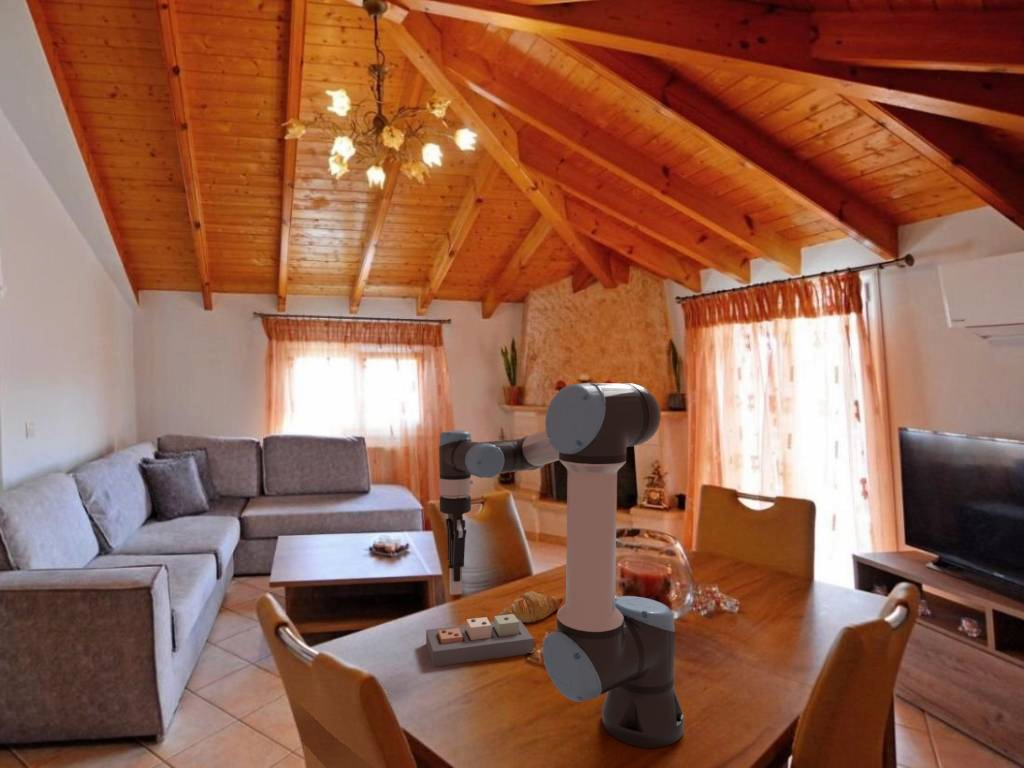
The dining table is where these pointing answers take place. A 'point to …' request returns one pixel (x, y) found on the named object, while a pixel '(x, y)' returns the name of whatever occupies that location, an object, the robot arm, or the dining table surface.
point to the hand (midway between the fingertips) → (455, 593)
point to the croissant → (532, 606)
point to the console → (477, 646)
